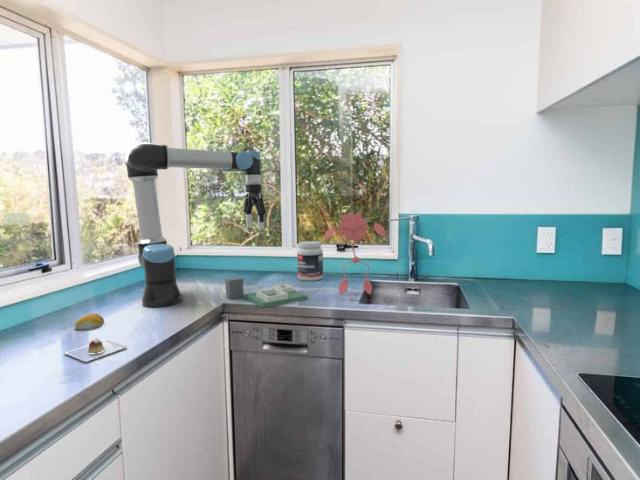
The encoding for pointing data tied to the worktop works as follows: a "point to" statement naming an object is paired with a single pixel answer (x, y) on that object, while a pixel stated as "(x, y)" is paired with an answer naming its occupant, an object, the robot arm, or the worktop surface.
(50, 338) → the worktop surface
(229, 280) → the plug
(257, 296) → the board
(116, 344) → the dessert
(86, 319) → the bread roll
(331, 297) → the worktop surface
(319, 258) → the supplement tub
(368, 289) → the pink flower sprig
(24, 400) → the worktop surface
